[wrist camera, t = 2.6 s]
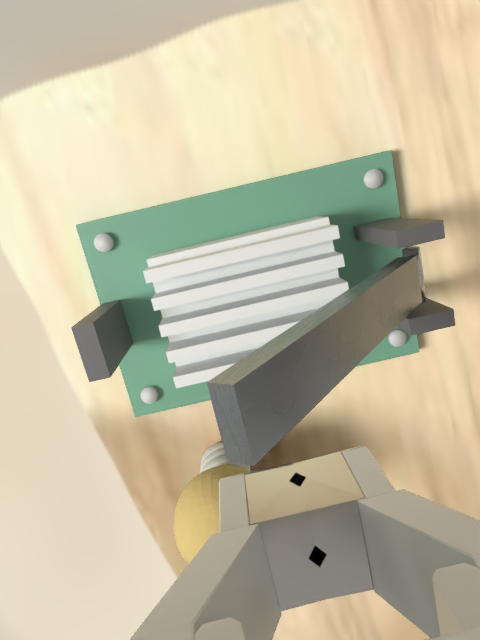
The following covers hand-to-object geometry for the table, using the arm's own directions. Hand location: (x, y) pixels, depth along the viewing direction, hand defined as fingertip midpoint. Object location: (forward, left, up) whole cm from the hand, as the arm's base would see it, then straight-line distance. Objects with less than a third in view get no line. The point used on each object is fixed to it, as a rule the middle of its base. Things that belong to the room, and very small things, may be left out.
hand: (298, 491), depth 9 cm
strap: (-3, -2, -10) cm, 11 cm away
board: (-1, 0, -23) cm, 23 cm away
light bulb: (-4, +13, -23) cm, 27 cm away
